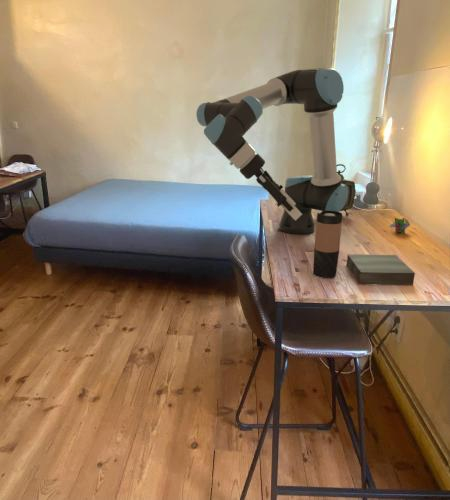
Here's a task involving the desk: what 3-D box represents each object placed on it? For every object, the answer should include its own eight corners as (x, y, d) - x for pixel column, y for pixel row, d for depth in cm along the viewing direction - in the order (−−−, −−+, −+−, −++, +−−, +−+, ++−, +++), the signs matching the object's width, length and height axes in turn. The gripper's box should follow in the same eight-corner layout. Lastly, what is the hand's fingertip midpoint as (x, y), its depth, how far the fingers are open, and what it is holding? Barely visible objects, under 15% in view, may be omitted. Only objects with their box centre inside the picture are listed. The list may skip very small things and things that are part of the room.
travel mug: (339, 278, 132) (345, 216, 126) (314, 278, 133) (319, 216, 126) (333, 269, 140) (339, 210, 133) (310, 269, 140) (315, 210, 133)
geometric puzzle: (400, 232, 174) (408, 215, 175) (385, 228, 179) (393, 211, 180) (406, 239, 179) (414, 222, 180) (391, 235, 184) (399, 219, 185)
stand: (346, 265, 144) (347, 254, 142) (394, 266, 143) (395, 254, 142) (359, 284, 128) (361, 272, 127) (412, 285, 128) (415, 272, 127)
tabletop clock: (328, 219, 201) (332, 166, 193) (316, 215, 209) (320, 163, 201) (352, 216, 206) (358, 164, 198) (340, 212, 214) (345, 162, 206)
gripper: (238, 164, 138) (282, 210, 142) (238, 177, 114) (291, 231, 119) (255, 147, 136) (299, 194, 140) (259, 157, 112) (311, 213, 117)
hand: (295, 211), depth 130 cm, fingers open, 13 cm apart
